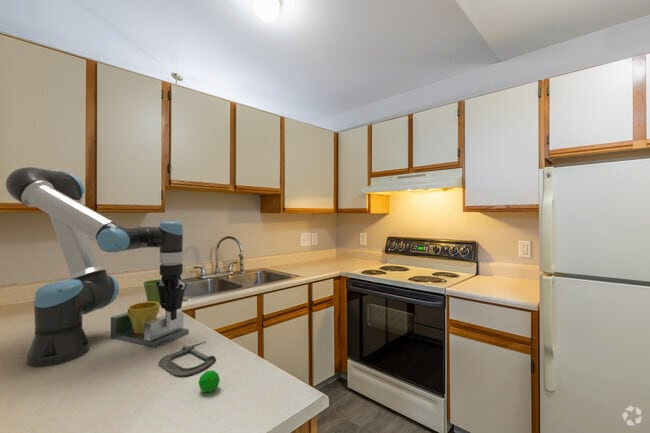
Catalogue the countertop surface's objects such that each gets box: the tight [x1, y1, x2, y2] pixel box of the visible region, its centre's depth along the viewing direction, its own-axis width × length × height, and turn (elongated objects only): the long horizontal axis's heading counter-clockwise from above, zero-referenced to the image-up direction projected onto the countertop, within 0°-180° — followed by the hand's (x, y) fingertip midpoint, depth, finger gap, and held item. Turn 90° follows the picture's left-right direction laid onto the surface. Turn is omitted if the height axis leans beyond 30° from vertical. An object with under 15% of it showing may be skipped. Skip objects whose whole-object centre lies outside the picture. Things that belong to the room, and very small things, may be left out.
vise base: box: [110, 311, 190, 349], centre depth 115 cm, size 14×24×8 cm, turn 67°
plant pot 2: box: [127, 301, 160, 334], centre depth 115 cm, size 10×10×10 cm
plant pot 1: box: [142, 278, 161, 305], centre depth 159 cm, size 12×12×11 cm
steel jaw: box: [144, 310, 184, 341], centre depth 112 cm, size 14×3×6 cm, turn 157°
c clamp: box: [158, 341, 217, 378], centre depth 95 cm, size 20×17×3 cm
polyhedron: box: [198, 369, 221, 393], centre depth 78 cm, size 5×5×5 cm
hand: (171, 328), depth 110 cm, fingers closed
